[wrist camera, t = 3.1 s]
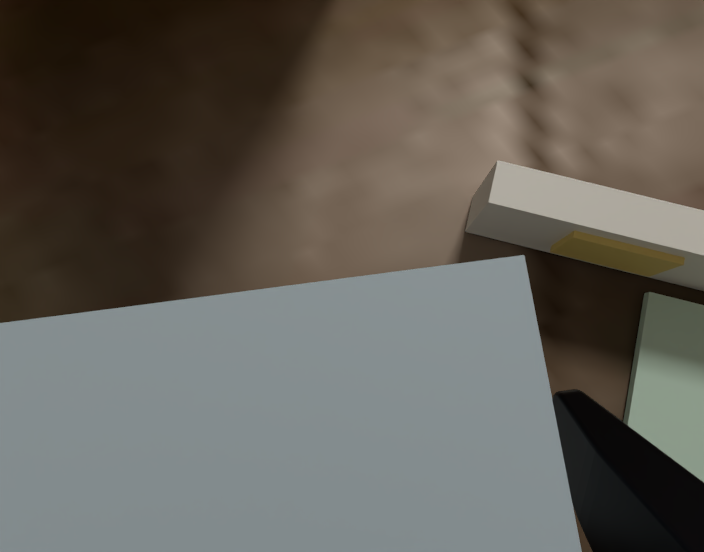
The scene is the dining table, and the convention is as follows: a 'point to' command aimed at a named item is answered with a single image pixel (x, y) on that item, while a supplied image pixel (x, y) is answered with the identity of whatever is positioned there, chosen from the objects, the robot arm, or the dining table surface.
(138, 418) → the tea tin
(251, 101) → the dining table surface
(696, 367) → the pad
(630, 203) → the rail
